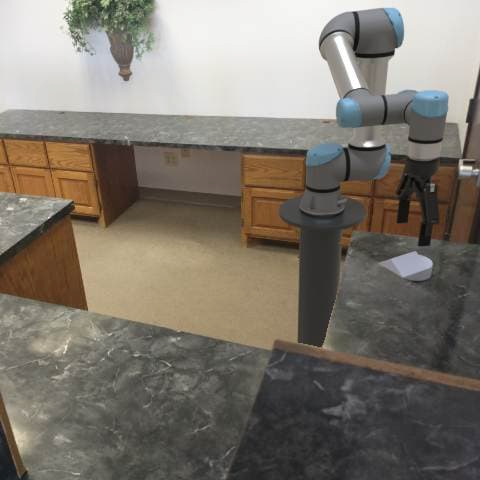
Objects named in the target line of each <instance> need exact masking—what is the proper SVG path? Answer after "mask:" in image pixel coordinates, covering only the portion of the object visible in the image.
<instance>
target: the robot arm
mask: <svg viewBox="0 0 480 480" xmlns="http://www.w3.org/2000/svg"><path fill="white" fill-rule="evenodd" d="M404 41H405V25H404V19H403V16H402V13H401V12H400V11H399V10H398V8H395V7H378V8H369V9H362V10H354V11H352V10H351V11H344V12H341V13H339V14H337V15H335V16H334V17H332V18H331V19H330V20H329V21H328V22H327V23H326V24H325V25H324V27H323V28H322V31H321V32H320V35H319V37H318V50H319V53H320V56H321V58H322V59H323V60H324V61H325V62H326V63H327V66H328V69H329V71H330V73H331V77H332V80H333V83H334V85H335V89H336V91H337V94H338V97H339V100H338V101H337V102H336V106H335V118H336V119H335V120H336V124H337V125H338V127H340V128H342V129H345V128H346V129H347V128H348V129H349V128H353V136H352V137H351V138H350V139H349V140H348V141H347V146H345V147H344V146H343V145H342V143H339V142H324V143H319V144H316V145H314V146H312V147H310V148H309V149H308V150H307V152H306V157H305V190H304V192H303V197H302V200H301V203H300V211H301V212H302V213H303V214H305V215H307V216H310V217H315V218H330V217H335V216H338V215H340V214H342V213H343V212H344V208H345V204H344V202H346V201H347V198H346V199H343V198H342V196H343V195H342V191H341V183H342V182H343V183H344V182H357V181H358V182H361V181H372V180H379V179H382V178H384V176H386V175H387V173H388V172H389V169H390V166H391V160H392V156H391V154H392V153H391V151H392V150H391V147H390V146H389V145H388V144H386V142H387V141H386V139H385V138H384V137H383V136H382V133H383V126H389V125H400V124H401V125H402V124H403V125H404V124H406V125H408V126H409V129H408V135H407V142H406V151H405V155H406V157H405V161H404V167H403V171H402V175H401V179H400V180H399V183H398V184H397V188H396V190H395V195H396V196H397V199H398V207H397V213H396V214H397V215H396V224H398V225H399V224H408V222H409V215H410V207H411V200H412V195H413V194H415V197H416V198H417V200H418V203H419V208H420V212H421V218H422V221H421V222H419V224H420V226H419V231H418V232H419V233H418V241H417V246H418V247H420V248H421V247H429V246H431V241H432V236H433V229H434V226H435V225H440V210H439V199H438V188H439V185H438V183H434V182H433V183H432V177H433V176H434V175H436V174H437V173H438V172H439V167H440V161H441V159H440V157H441V153H442V146H444V140H443V139H444V133H445V127H446V122H447V117H448V116H447V115H448V111H449V100H450V99H449V94H448V93H447V92H445V91H442V90H435V89H427V90H421V91H417V90H416V89H415V90H414V89H403V90H401V91H398V92H397V93H391V94H386V92H387V91H386V90H387V81H388V71H389V70H388V69H389V62H390V60H391V59H393V58H394V57H395V54H396V53H395V52H396V49H399V48H400V47H402V45H403V42H404Z"/></svg>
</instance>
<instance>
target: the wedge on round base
mask: <svg viewBox="0 0 480 480" xmlns="http://www.w3.org/2000/svg"><path fill="white" fill-rule="evenodd" d="M377 264H378V265H379V266H381V267H383V268H385V269H386V270H389V271H390V272H392V273H394V274H395V275H397V276H398V277H400V278H401V279H404V280H407V281H413V282H422V281H427V280H429V279H430V278H431V277H432V272H433V267H434V266H433V265H434V263H433V261H432V260H431V259H430V258H428V257H427V256H424V255H421V254H418V252H417V251H416V250H414V251H411V252H408V253H403V254H402V255H398V256H395V257H392V258H389V259H386V260H383V261H379V262H377Z"/></svg>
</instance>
